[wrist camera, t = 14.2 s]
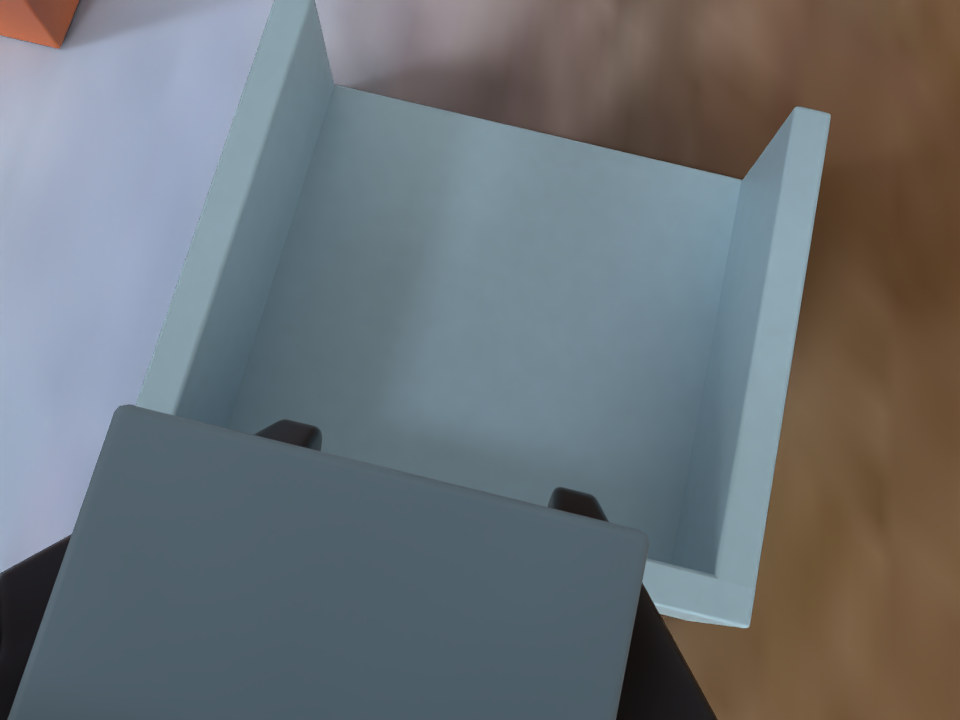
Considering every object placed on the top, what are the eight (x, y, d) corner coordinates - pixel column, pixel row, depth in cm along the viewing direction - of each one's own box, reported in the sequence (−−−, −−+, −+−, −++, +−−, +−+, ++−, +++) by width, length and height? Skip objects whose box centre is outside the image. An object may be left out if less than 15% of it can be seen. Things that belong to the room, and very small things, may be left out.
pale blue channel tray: (672, 719, 15) (1435, 1165, 3) (148, 587, 15) (-813, 584, 4) (764, 196, 17) (1403, -594, 6) (308, 89, 18) (35, -880, 6)
